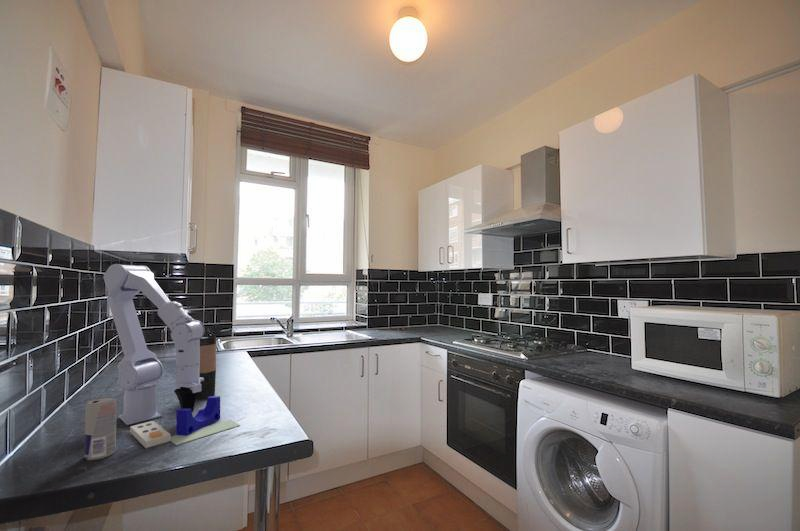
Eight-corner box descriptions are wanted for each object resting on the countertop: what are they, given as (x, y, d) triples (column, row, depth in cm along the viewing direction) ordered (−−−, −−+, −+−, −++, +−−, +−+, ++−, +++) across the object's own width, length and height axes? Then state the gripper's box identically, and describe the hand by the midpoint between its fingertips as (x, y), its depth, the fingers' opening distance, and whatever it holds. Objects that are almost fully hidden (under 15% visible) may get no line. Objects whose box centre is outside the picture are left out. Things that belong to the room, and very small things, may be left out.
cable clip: (206, 417, 101) (206, 396, 102) (220, 418, 101) (220, 396, 101) (171, 434, 90) (171, 410, 90) (186, 435, 89) (186, 410, 89)
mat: (167, 438, 88) (167, 437, 88) (230, 420, 99) (230, 419, 99) (176, 445, 84) (176, 444, 84) (239, 425, 95) (239, 424, 95)
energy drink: (96, 450, 82) (97, 396, 83) (121, 448, 83) (122, 395, 83) (77, 461, 77) (79, 404, 78) (104, 460, 77) (105, 403, 78)
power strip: (130, 432, 92) (130, 424, 92) (153, 426, 96) (153, 418, 96) (145, 448, 83) (145, 438, 83) (170, 440, 87) (170, 431, 87)
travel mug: (220, 395, 122) (220, 336, 123) (197, 401, 116) (198, 339, 117) (207, 392, 126) (208, 334, 127) (185, 398, 120) (185, 337, 121)
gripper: (213, 365, 99) (213, 415, 98) (193, 359, 108) (193, 404, 108) (185, 370, 94) (184, 423, 93) (167, 363, 103) (166, 411, 102)
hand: (187, 414), depth 100 cm, fingers closed
